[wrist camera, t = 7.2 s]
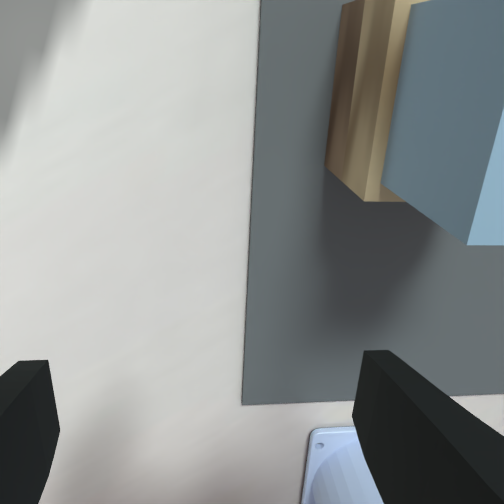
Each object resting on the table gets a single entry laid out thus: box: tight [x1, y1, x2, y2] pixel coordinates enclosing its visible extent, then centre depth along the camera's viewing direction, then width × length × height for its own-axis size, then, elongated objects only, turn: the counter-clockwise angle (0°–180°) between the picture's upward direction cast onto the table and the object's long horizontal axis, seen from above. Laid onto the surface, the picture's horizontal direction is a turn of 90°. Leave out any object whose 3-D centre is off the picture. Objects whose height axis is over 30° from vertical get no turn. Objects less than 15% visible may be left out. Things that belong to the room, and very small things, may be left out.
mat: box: [242, 0, 504, 405], centre depth 20 cm, size 24×22×1 cm
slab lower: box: [324, 0, 365, 180], centre depth 17 cm, size 6×6×2 cm
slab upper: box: [341, 0, 429, 202], centre depth 15 cm, size 6×6×2 cm
